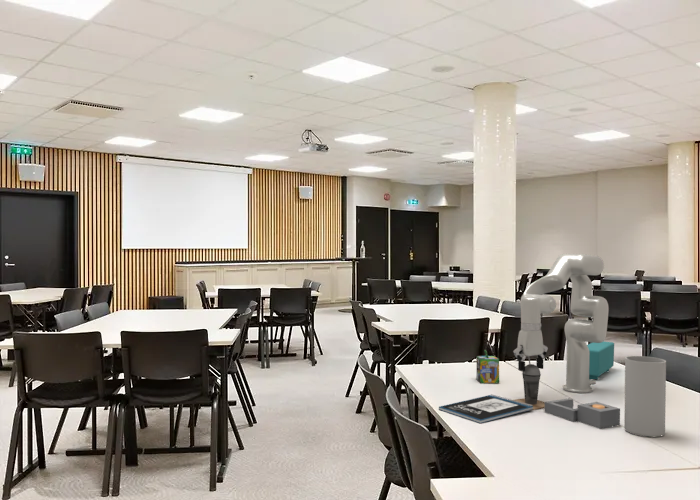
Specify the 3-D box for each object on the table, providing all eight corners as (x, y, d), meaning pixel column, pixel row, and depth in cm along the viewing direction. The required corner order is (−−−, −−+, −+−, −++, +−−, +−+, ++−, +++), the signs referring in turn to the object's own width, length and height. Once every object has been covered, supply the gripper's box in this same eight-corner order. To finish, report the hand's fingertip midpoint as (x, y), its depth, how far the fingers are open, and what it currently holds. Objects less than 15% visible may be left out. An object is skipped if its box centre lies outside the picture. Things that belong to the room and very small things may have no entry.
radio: (593, 368, 312) (593, 340, 312) (614, 371, 306) (614, 342, 306) (575, 379, 285) (576, 348, 285) (598, 382, 279) (598, 350, 279)
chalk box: (499, 383, 272) (499, 352, 272) (479, 383, 272) (480, 351, 272) (495, 379, 281) (495, 348, 281) (475, 379, 282) (476, 348, 282)
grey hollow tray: (569, 408, 231) (569, 393, 231) (621, 425, 209) (621, 408, 209) (544, 412, 225) (544, 396, 225) (596, 429, 203) (596, 412, 203)
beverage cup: (541, 405, 232) (542, 355, 232) (522, 404, 233) (523, 354, 233) (539, 401, 239) (540, 352, 239) (520, 400, 241) (521, 351, 241)
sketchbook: (438, 410, 226) (438, 404, 226) (491, 398, 243) (491, 393, 243) (480, 423, 209) (480, 417, 209) (534, 409, 226) (534, 404, 226)
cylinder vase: (663, 440, 192) (664, 364, 192) (622, 433, 199) (622, 360, 199) (666, 430, 203) (667, 358, 203) (626, 424, 210) (627, 354, 210)
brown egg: (597, 414, 214) (597, 403, 214) (606, 417, 210) (607, 406, 210) (589, 416, 212) (590, 405, 212) (599, 419, 208) (599, 407, 208)
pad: (530, 398, 245) (530, 397, 245) (555, 406, 233) (555, 405, 233) (504, 402, 239) (504, 400, 239) (529, 410, 226) (529, 409, 226)
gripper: (539, 324, 243) (540, 365, 244) (507, 327, 235) (507, 370, 236) (553, 326, 237) (553, 369, 237) (521, 330, 229) (521, 373, 229)
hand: (530, 369), depth 236 cm, fingers open, 9 cm apart
